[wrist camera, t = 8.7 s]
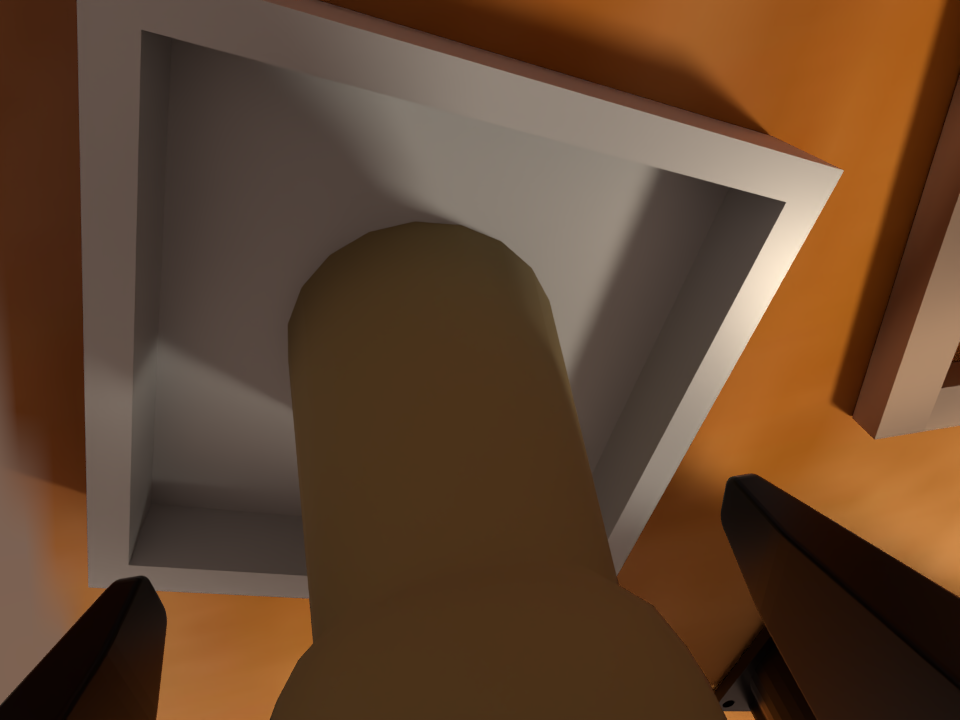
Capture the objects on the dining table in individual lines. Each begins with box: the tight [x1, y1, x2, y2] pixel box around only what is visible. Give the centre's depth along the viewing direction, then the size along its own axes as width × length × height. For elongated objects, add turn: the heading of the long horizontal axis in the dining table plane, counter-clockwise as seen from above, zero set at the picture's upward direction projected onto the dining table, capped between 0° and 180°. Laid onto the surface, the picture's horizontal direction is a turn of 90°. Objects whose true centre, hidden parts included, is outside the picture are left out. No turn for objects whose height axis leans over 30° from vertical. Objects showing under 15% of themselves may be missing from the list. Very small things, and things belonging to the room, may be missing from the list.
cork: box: [270, 222, 727, 720], centre depth 10 cm, size 6×6×11 cm
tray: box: [77, 0, 844, 598], centre depth 14 cm, size 13×13×2 cm
